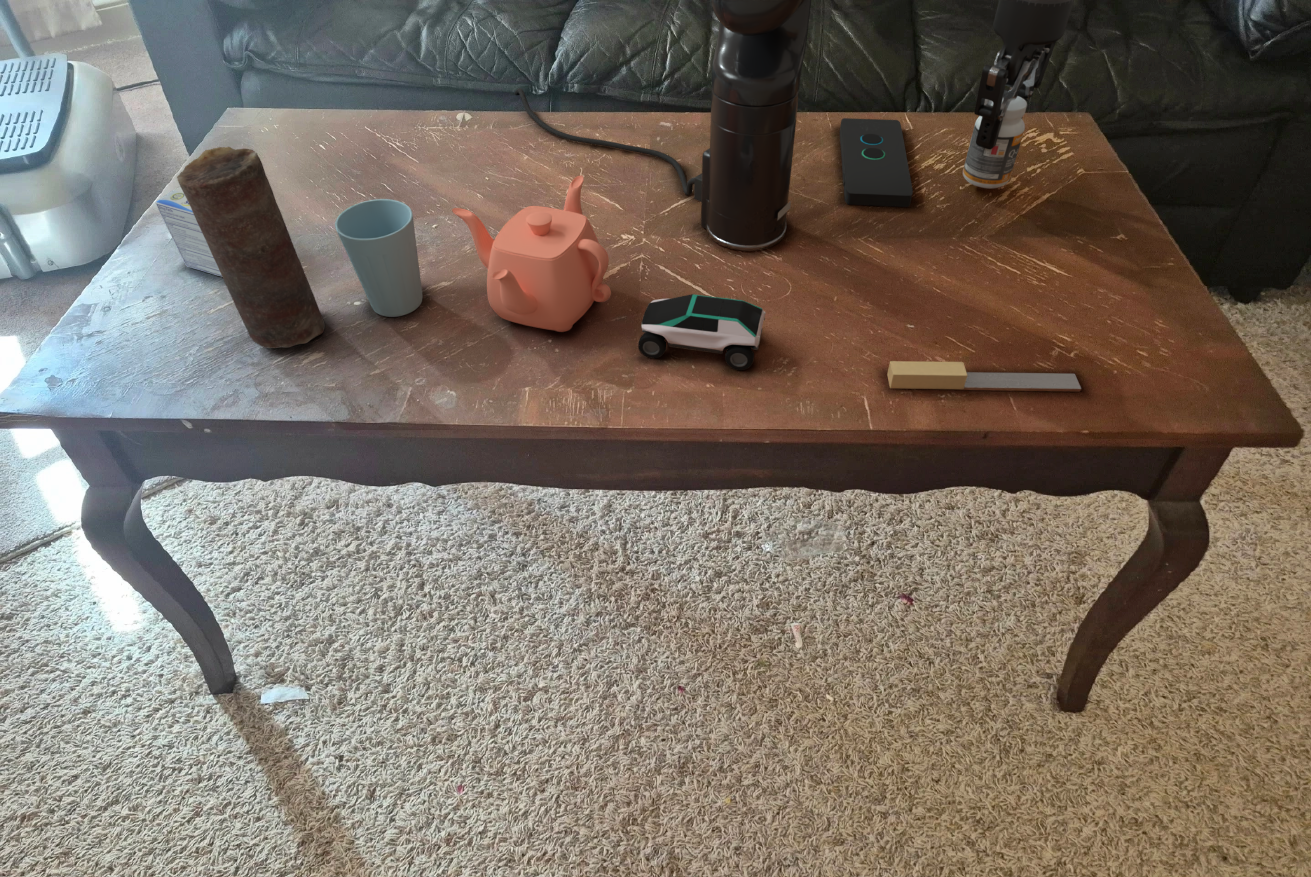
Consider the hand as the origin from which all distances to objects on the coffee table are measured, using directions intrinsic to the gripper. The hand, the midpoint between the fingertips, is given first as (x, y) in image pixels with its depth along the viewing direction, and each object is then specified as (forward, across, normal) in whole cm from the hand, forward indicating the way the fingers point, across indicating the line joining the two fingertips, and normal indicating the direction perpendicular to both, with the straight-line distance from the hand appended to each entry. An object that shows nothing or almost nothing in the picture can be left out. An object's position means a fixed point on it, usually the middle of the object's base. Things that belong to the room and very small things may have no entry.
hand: (997, 136), depth 106 cm
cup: (+8, -63, +37) cm, 73 cm away
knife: (+7, -34, -17) cm, 38 cm away
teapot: (+7, -53, +25) cm, 59 cm away
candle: (+8, -74, +41) cm, 85 cm away
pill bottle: (+6, 0, 0) cm, 6 cm away
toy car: (+7, -47, +7) cm, 48 cm away
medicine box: (+8, -71, +58) cm, 92 cm away
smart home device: (+7, -4, +14) cm, 16 cm away
